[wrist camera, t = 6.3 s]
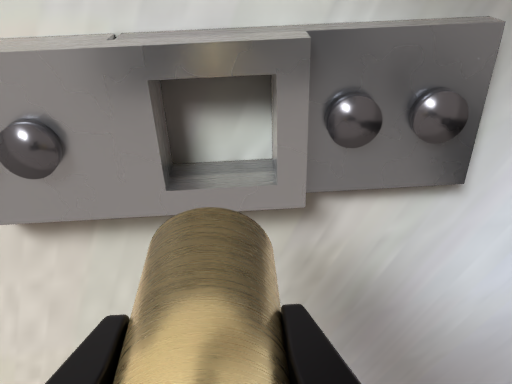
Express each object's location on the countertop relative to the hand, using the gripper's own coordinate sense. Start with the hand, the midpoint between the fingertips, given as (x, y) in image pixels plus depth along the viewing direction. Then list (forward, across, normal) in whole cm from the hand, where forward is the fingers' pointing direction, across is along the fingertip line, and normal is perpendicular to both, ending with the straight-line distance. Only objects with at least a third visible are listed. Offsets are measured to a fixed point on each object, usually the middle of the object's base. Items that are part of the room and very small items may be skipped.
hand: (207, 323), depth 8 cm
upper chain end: (+12, +4, 0) cm, 12 cm away
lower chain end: (+12, -4, 0) cm, 12 cm away
